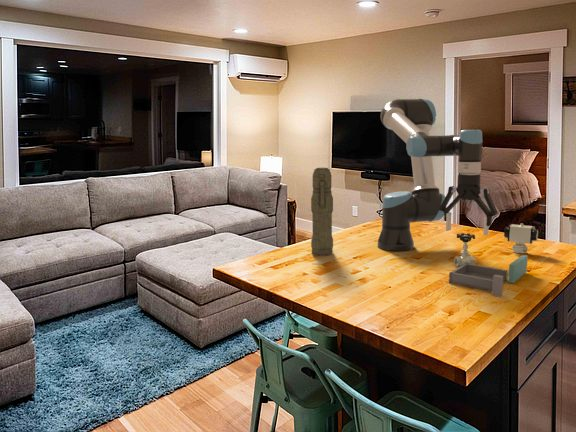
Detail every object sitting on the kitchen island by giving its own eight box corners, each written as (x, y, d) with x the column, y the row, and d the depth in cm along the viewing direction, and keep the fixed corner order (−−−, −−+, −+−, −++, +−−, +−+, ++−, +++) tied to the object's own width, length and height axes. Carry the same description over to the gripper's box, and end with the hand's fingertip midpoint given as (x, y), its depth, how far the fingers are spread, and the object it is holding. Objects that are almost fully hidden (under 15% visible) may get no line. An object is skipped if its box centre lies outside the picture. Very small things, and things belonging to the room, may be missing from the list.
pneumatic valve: (534, 255, 191) (537, 226, 189) (502, 251, 198) (504, 223, 196) (536, 252, 196) (539, 223, 193) (505, 248, 202) (507, 220, 200)
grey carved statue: (313, 257, 195) (312, 169, 188) (309, 249, 206) (309, 167, 200) (335, 256, 195) (335, 169, 189) (330, 248, 207) (330, 166, 200)
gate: (508, 282, 160) (509, 264, 159) (521, 271, 171) (522, 254, 170) (513, 283, 159) (514, 265, 158) (526, 272, 170) (527, 255, 169)
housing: (445, 285, 159) (446, 267, 158) (465, 272, 171) (465, 256, 170) (499, 296, 148) (501, 277, 147) (516, 282, 160) (518, 264, 159)
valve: (451, 264, 182) (453, 233, 179) (468, 263, 182) (470, 232, 180) (459, 269, 175) (461, 237, 173) (477, 269, 176) (478, 236, 173)
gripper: (431, 173, 177) (429, 230, 181) (502, 176, 161) (498, 238, 165) (439, 171, 183) (437, 226, 187) (509, 174, 167) (505, 234, 171)
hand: (466, 232), depth 176 cm, fingers open, 13 cm apart
